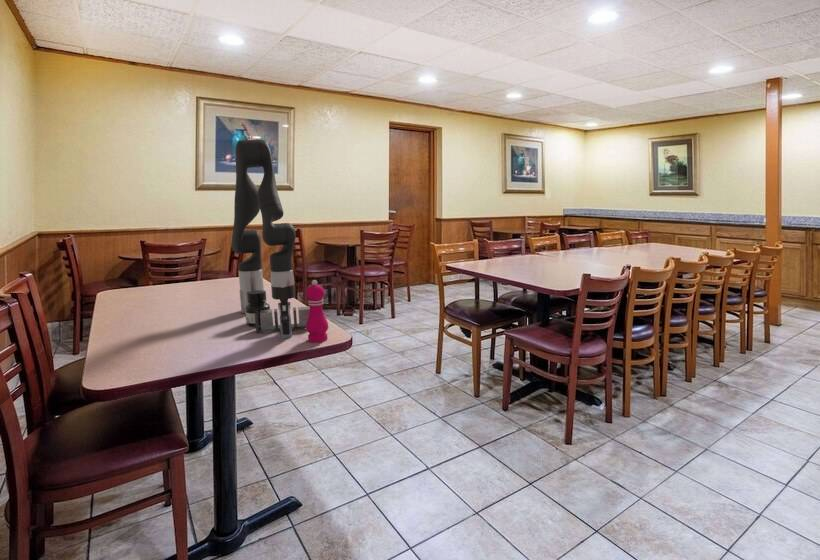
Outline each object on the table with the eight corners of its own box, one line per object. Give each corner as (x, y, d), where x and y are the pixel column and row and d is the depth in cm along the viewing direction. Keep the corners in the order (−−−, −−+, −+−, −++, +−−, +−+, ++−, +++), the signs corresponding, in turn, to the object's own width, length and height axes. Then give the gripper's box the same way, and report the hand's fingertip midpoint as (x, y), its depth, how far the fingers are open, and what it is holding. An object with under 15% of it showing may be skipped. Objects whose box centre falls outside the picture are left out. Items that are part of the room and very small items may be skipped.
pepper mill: (317, 335, 166) (314, 277, 163) (333, 338, 162) (330, 279, 158) (302, 341, 160) (298, 280, 157) (318, 344, 156) (314, 282, 153)
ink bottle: (245, 321, 186) (242, 290, 184) (269, 318, 189) (266, 288, 187) (247, 328, 177) (245, 295, 175) (272, 325, 181) (270, 293, 178)
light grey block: (281, 338, 164) (279, 318, 163) (281, 334, 168) (279, 314, 167) (292, 337, 165) (290, 317, 163) (291, 333, 169) (290, 313, 168)
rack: (256, 333, 170) (254, 313, 169) (256, 329, 175) (255, 310, 174) (316, 328, 175) (314, 309, 174) (315, 324, 180) (314, 306, 178)
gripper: (271, 280, 169) (275, 326, 172) (270, 288, 155) (274, 338, 158) (293, 279, 171) (297, 324, 174) (294, 286, 157) (298, 335, 160)
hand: (286, 331), depth 166 cm, fingers open, 8 cm apart
